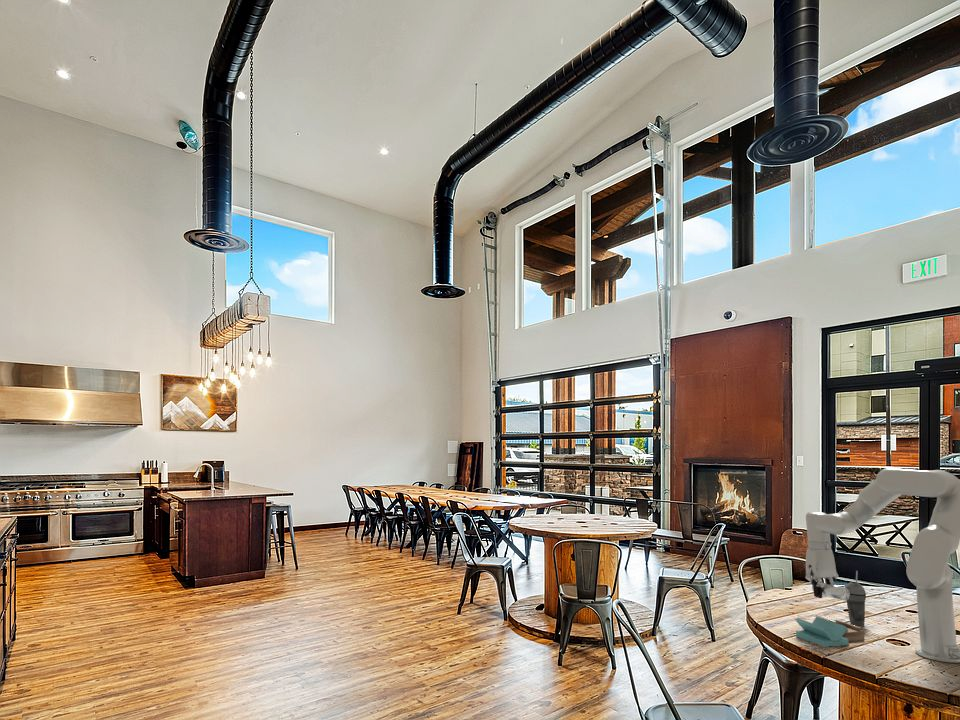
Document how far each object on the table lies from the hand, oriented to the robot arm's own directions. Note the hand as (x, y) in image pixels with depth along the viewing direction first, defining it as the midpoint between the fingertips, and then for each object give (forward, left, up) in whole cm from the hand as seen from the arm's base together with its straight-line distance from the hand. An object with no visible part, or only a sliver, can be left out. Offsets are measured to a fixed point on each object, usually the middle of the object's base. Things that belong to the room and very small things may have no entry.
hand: (823, 596), depth 221 cm
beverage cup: (+3, -18, -12) cm, 22 cm away
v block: (-9, +11, -12) cm, 19 cm away
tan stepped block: (-7, 0, -12) cm, 14 cm away
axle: (-3, 0, 0) cm, 3 cm away
